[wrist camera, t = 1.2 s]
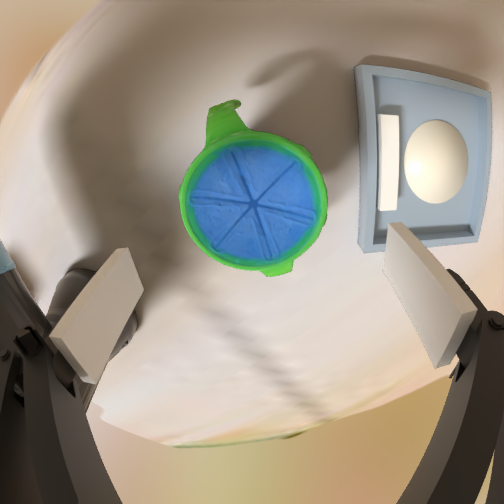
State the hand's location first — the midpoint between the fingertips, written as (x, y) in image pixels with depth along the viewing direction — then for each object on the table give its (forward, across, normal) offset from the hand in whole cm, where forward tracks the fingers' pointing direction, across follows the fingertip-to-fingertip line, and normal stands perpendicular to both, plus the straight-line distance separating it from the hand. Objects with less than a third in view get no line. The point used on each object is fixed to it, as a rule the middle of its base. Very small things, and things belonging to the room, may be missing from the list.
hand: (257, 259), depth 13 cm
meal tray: (+16, +20, +1) cm, 26 cm away
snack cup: (+17, 0, 0) cm, 17 cm away
